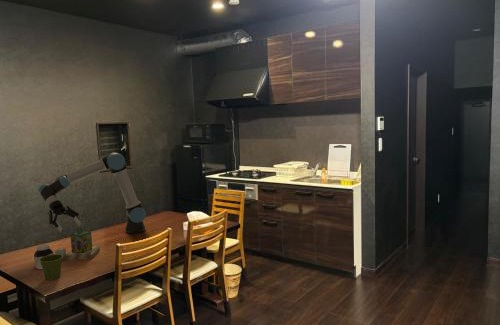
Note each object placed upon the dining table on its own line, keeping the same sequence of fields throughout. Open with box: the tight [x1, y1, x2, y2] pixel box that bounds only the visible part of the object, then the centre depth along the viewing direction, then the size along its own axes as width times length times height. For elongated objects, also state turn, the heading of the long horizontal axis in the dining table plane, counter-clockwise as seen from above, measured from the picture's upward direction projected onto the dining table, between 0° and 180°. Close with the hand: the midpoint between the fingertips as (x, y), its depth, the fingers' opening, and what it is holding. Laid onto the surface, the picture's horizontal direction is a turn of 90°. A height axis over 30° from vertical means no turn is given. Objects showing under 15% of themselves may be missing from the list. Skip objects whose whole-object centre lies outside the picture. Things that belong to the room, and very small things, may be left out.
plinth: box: [64, 245, 100, 261], centre depth 243 cm, size 16×16×3 cm
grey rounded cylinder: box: [54, 247, 67, 261], centre depth 238 cm, size 6×6×6 cm
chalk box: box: [69, 226, 93, 253], centre depth 242 cm, size 9×9×15 cm
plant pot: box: [39, 253, 63, 281], centre depth 207 cm, size 12×12×11 cm
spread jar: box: [33, 244, 54, 270], centre depth 225 cm, size 12×11×12 cm
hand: (70, 227), depth 248 cm, fingers open, 13 cm apart
